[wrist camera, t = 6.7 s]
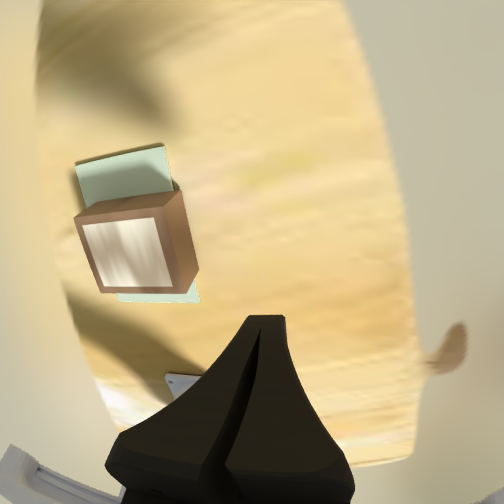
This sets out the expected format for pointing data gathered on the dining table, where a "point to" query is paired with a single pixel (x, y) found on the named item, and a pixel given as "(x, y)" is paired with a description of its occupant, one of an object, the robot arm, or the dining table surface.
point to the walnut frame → (139, 244)
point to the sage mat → (131, 184)
